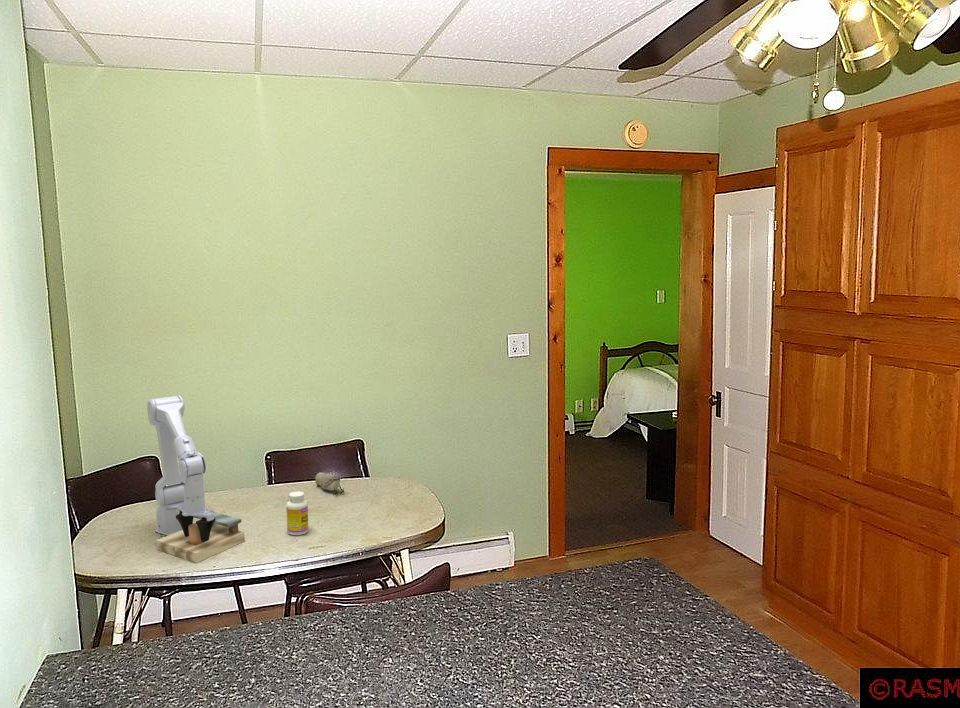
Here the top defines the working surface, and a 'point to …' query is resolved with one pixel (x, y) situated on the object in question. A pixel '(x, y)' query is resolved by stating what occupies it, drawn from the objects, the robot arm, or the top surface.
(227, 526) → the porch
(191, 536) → the peg
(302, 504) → the supplement bottle
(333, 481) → the decorative bird
